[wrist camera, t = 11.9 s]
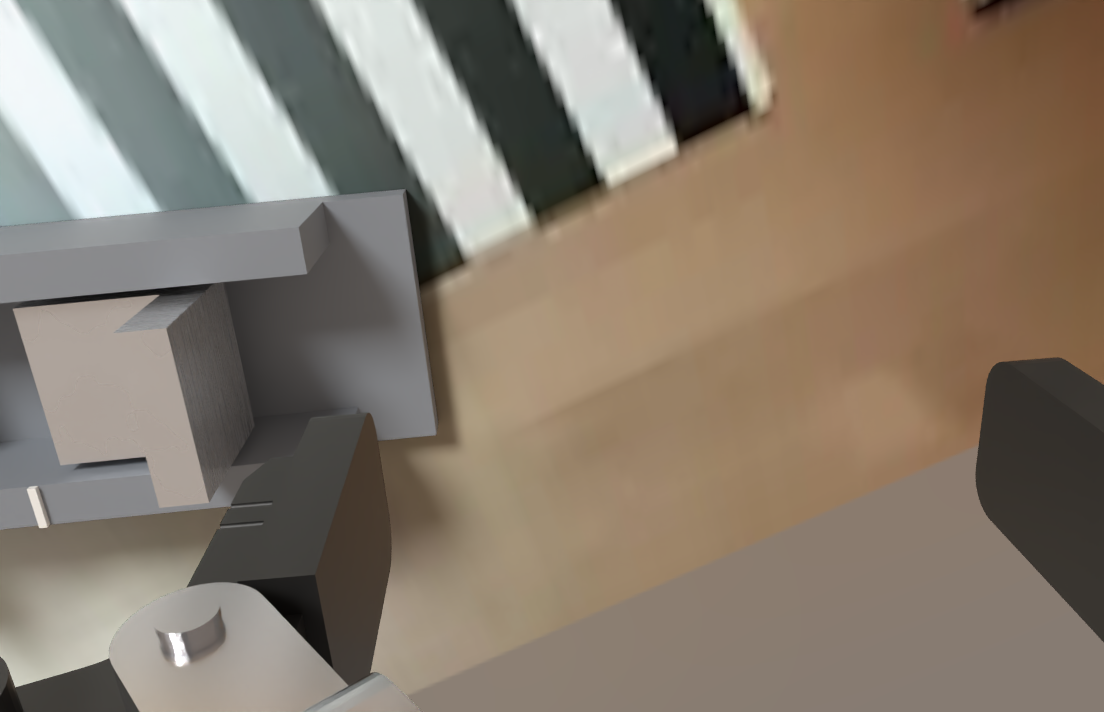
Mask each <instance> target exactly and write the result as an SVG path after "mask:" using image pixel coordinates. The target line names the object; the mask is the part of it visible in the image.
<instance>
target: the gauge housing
mask: <svg viewBox="0 0 1104 712" xmlns="http://www.w3.org/2000/svg"><path fill="white" fill-rule="evenodd" d="M220 282H224V285H225V290H226V294H227V299H228V303H229V308H230V313H231V317H232V322H233V326H234V331H235V335H236V340H237V345H238V349H239V354H240V358H241V363H242V368H243V372H244V377H245V381H246V386H247V391H248V395H249V400H250V404H251V409H252V414H253V418H254V423H255V426H254V428H253V430H252V432H251V433H250V435H249V437H248V438H247V440H246V442H245V443H244V445H243V447H242V448H241V450H240V452H239V453H238V455H237V457H236V458H235V460H234V462H233V463H232V465H231V467H230V469H229V470H228V472H227V474H226V475H225V477H224V479H223V480H222V482H221V484H220V485H219V487H218V489H217V490H216V492H215V494H214V495H213V497H212V499H211V500H210V502H209V503H203V504H193V505H183V506H173V507H164V508H159V505H158V501H157V497H156V493H155V490H154V486H153V482H152V478H151V475H150V471H149V467H148V463H147V460H146V457H138V458H128V459H118V460H108V461H98V462H88V463H78V464H68V465H60V462H59V459H58V455H57V452H56V449H55V446H54V442H53V439H52V436H51V432H50V429H49V426H48V423H47V419H46V416H45V413H44V410H43V406H42V403H41V400H40V396H39V393H38V390H37V387H36V383H35V380H34V377H33V374H32V370H31V367H30V364H29V360H28V357H27V354H26V351H25V347H24V344H23V341H22V338H21V334H20V331H19V328H18V324H17V321H16V318H15V315H14V311H13V308H15V307H16V306H18V305H20V304H21V303H23V302H25V301H31V300H41V299H52V298H62V297H73V296H83V295H94V294H104V293H115V292H125V291H136V290H146V289H157V288H167V287H178V286H188V285H199V284H209V283H220ZM359 413H370V414H371V415H372V418H373V421H374V424H375V428H376V434H377V440H378V441H382V440H392V439H402V438H412V437H422V436H432V435H437V428H438V418H437V410H436V403H435V396H434V389H433V382H432V375H431V367H430V360H429V353H428V346H427V339H426V332H425V325H424V317H423V310H422V303H421V296H420V289H419V282H418V274H417V267H416V260H415V253H414V246H413V239H412V231H411V224H410V217H409V210H408V203H407V196H406V189H401V190H390V191H379V192H368V193H358V194H347V195H336V196H325V197H315V198H304V199H293V200H283V201H272V202H261V203H250V204H240V205H229V206H218V207H207V208H197V209H186V210H175V211H164V212H154V213H143V214H132V215H122V216H111V217H100V218H89V219H79V220H68V221H57V222H46V223H36V224H25V225H14V226H4V227H0V530H1V529H11V528H21V527H31V526H39V528H47V527H48V526H49V525H51V524H61V523H71V522H80V521H90V520H100V519H110V518H120V517H130V516H140V515H150V514H159V513H169V512H179V511H189V510H199V509H209V508H219V507H229V506H231V503H232V501H233V499H234V497H235V495H236V493H237V491H238V490H239V488H240V486H241V484H242V482H243V480H244V479H246V478H247V477H248V476H249V475H251V474H252V473H253V472H254V471H256V470H257V469H258V468H259V467H261V466H262V465H263V464H264V463H266V462H267V461H268V460H269V459H271V458H279V457H291V456H293V455H294V453H295V451H296V449H297V446H298V444H299V442H300V440H301V438H302V435H303V433H304V431H305V429H306V426H307V424H308V422H309V420H310V419H311V418H312V417H322V416H334V415H347V414H359Z"/></svg>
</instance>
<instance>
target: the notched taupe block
mask: <svg viewBox="0 0 1104 712" xmlns="http://www.w3.org/2000/svg"><path fill="white" fill-rule="evenodd" d="M13 311H14V315H15V318H16V321H17V324H18V328H19V331H20V334H21V338H22V341H23V344H24V347H25V351H26V354H27V357H28V360H29V364H30V367H31V370H32V374H33V377H34V380H35V383H36V387H37V390H38V393H39V396H40V400H41V403H42V406H43V410H44V413H45V416H46V419H47V423H48V426H49V429H50V432H51V436H52V439H53V442H54V446H55V449H56V452H57V455H58V459H59V462H60V465H68V464H78V463H88V462H98V461H108V460H118V459H128V458H138V457H146V460H147V463H148V467H149V471H150V475H151V478H152V482H153V486H154V490H155V493H156V497H157V501H158V505H159V508H164V507H173V506H183V505H193V504H203V503H209V502H210V500H211V499H212V497H213V495H214V494H215V492H216V490H217V489H218V487H219V485H220V484H221V482H222V480H223V479H224V477H225V475H226V474H227V472H228V470H229V469H230V467H231V465H232V463H233V462H234V460H235V458H236V457H237V455H238V453H239V452H240V450H241V448H242V447H243V445H244V443H245V442H246V440H247V438H248V437H249V435H250V433H251V432H252V430H253V428H254V426H255V423H254V418H253V414H252V409H251V404H250V400H249V395H248V391H247V386H246V381H245V377H244V372H243V368H242V363H241V358H240V354H239V349H238V345H237V340H236V335H235V331H234V326H233V322H232V317H231V313H230V308H229V303H228V299H227V294H226V290H225V285H224V282H220V283H209V284H199V285H188V286H178V287H167V288H157V289H146V290H136V291H125V292H115V293H104V294H94V295H83V296H73V297H62V298H52V299H41V300H31V301H25V302H23V303H21V304H20V305H18V306H16V307H15V308H13Z"/></svg>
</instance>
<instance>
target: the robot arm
mask: <svg viewBox="0 0 1104 712" xmlns="http://www.w3.org/2000/svg"><path fill="white" fill-rule="evenodd" d="M976 487H977V492H978V496H979V500H980V502H981V505H982V507H983V510H984V512H985V513H986V515H987V516H988V518H989V519H990V520H991V521H992V522H993V523H994V524H995V525H996V526H997V528H998V529H999V530H1000V531H1001V532H1002V533H1003V534H1004V535H1005V536H1006V537H1007V538H1008V539H1009V541H1010V542H1011V543H1012V544H1013V545H1014V546H1015V547H1016V548H1017V549H1018V550H1019V551H1020V552H1021V553H1022V555H1023V556H1024V557H1025V558H1026V559H1027V560H1028V561H1029V562H1030V563H1031V564H1032V565H1033V566H1034V567H1035V569H1036V570H1037V571H1038V572H1039V573H1040V574H1041V575H1042V576H1043V577H1044V578H1045V579H1046V580H1047V582H1048V583H1049V584H1050V585H1051V586H1052V587H1053V588H1054V589H1055V590H1056V591H1057V592H1058V593H1059V594H1060V595H1061V597H1062V598H1063V599H1064V600H1065V601H1066V602H1067V603H1068V604H1069V605H1070V606H1071V607H1072V608H1073V610H1074V611H1075V612H1076V613H1077V614H1078V615H1079V616H1080V617H1081V618H1082V619H1083V620H1084V621H1085V622H1086V623H1087V625H1088V626H1089V627H1090V628H1091V629H1092V630H1093V631H1094V632H1095V633H1096V634H1097V635H1098V636H1099V638H1100V639H1101V640H1102V641H1103V642H1104V385H1103V384H1101V383H1100V382H1098V381H1097V380H1095V379H1094V378H1092V377H1091V376H1089V375H1088V374H1086V373H1085V372H1083V371H1081V370H1080V369H1078V368H1077V367H1075V366H1074V365H1072V364H1071V363H1069V362H1068V361H1066V360H1064V359H1062V358H1058V357H1057V358H1045V359H1033V360H1020V361H1008V362H999V363H997V364H996V365H995V366H993V368H992V369H991V371H990V373H989V375H988V379H987V383H986V391H985V399H984V407H983V415H982V423H981V431H980V439H979V448H978V456H977V464H976ZM391 549H392V548H391V527H390V518H389V512H388V505H387V499H386V492H385V486H384V479H383V473H382V466H381V460H380V453H379V447H378V440H377V434H376V428H375V424H374V421H373V418H372V415H371V414H370V413H359V414H347V415H334V416H322V417H312V418H311V419H310V420H309V422H308V424H307V426H306V429H305V431H304V433H303V435H302V438H301V440H300V442H299V444H298V446H297V449H296V451H295V453H294V455H293V456H291V457H279V458H271V459H269V460H268V461H267V462H266V463H264V464H263V465H262V466H261V467H259V468H258V469H257V470H256V471H254V472H253V473H252V474H251V475H249V476H248V477H247V478H246V479H244V480H243V482H242V484H241V486H240V488H239V490H238V491H237V493H236V495H235V497H234V499H233V501H232V503H231V509H228V510H227V512H226V514H225V516H224V518H223V520H222V522H221V524H220V529H217V531H216V533H215V535H214V537H213V539H212V541H211V542H210V544H209V546H208V548H207V550H206V552H205V554H204V556H203V558H202V560H201V561H200V563H199V565H198V567H197V569H196V571H195V573H194V575H193V577H192V578H191V580H190V582H189V584H188V586H187V588H184V589H181V590H177V591H175V592H172V593H170V594H167V595H165V596H163V597H161V598H159V599H156V600H154V601H153V602H151V603H149V604H148V605H146V606H144V607H143V608H141V609H140V610H138V611H137V612H136V613H134V614H133V615H132V616H131V617H130V618H129V619H127V620H126V621H125V622H124V623H123V624H122V626H121V627H120V628H119V629H118V631H117V632H116V633H115V635H114V637H113V639H112V641H111V644H110V647H109V659H107V660H104V661H102V662H99V663H96V664H93V665H90V666H87V667H84V668H81V669H78V670H74V671H71V672H67V673H64V674H60V675H57V676H54V677H50V678H47V679H43V680H40V681H36V682H33V683H30V684H26V685H23V686H19V687H16V688H15V686H14V683H13V680H12V678H11V675H10V672H9V669H8V667H7V665H6V663H5V661H4V660H3V659H2V658H1V657H0V712H422V711H421V710H420V709H419V708H418V707H417V706H416V705H415V704H414V703H413V702H412V701H411V700H410V699H409V698H408V697H407V696H406V695H405V694H404V693H403V692H402V691H401V690H400V689H399V688H398V687H397V686H396V685H395V684H394V683H393V682H392V681H390V680H389V679H388V678H387V677H385V676H384V675H382V674H379V673H376V672H374V673H370V671H371V666H372V660H373V655H374V650H375V645H376V640H377V635H378V629H379V624H380V619H381V614H382V609H383V603H384V598H385V593H386V588H387V583H388V577H389V572H390V566H391Z"/></svg>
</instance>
